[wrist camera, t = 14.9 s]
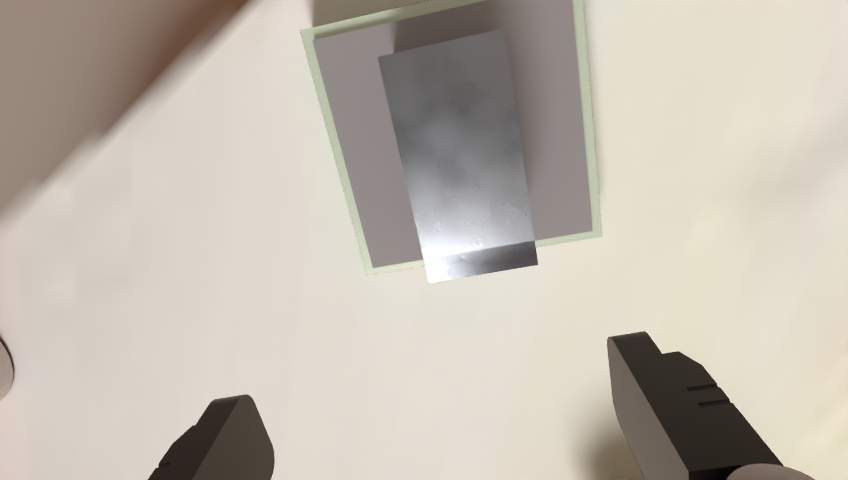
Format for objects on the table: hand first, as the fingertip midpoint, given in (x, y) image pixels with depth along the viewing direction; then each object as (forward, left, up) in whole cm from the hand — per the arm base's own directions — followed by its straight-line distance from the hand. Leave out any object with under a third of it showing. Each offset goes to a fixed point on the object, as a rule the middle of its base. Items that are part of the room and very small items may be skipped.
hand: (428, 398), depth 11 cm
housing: (+1, +2, -18) cm, 18 cm away
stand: (+1, +2, -21) cm, 21 cm away
